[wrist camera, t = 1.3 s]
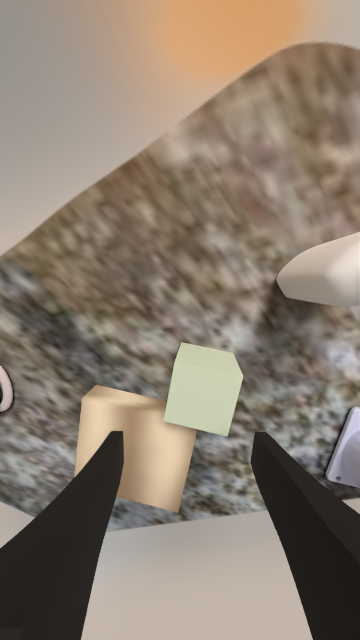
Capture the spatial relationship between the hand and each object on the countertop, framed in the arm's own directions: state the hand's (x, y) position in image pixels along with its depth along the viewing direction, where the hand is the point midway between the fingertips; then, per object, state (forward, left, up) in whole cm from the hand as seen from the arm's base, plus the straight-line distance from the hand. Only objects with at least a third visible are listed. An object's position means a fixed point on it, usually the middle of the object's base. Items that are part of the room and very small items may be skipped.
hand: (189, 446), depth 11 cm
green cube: (-1, 0, -9) cm, 9 cm away
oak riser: (+4, +9, -10) cm, 14 cm away
